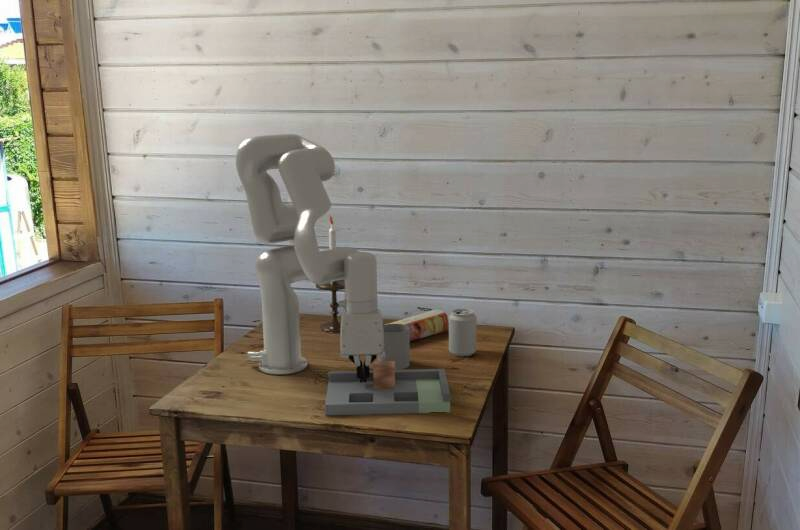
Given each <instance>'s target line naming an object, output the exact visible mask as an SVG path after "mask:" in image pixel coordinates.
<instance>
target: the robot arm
mask: <svg viewBox="0 0 800 530" xmlns="http://www.w3.org/2000/svg"><path fill="white" fill-rule="evenodd" d="M235 167H236V172H237V174H238V177H239V180H240V183H241V184H242V187H243V190H244V192H245V196H246V200H247V201H246V202H247V206H248V211H249V215H250V219H251V220H250V221H251V225H252V229H253V230H252V231H253V232H254V236H255V238H256V239H257V241H258V242H259V243H262V244H265V245H266V244H267V245H269V244H276V243H282V242H287V241H289V243H290V245H285V246H280V247H276V248H271V249H267V250H266V251H264V252H262V253H260V255H259V256H258V257H257V258H256V261H255V273H256V276H257V281H258V286H259V292H260V299H261V312H262V313H261V316H262V318H261V319H262V331H263V332H262V334H263V337H262V338H263V349H261V350H259V351H247V359H248V360H250V361H251V362H259V363H258V369H259V370H260V371H261V372H262V373H265V374H270V375H289V374H294V373H295V374H296V373H299V372H301V371H303V370H305V369H306V368H307V367H308V360H307V358H305V357H303V356H302V347H301V326H300V324H301V323H300V322H301V321H300V302H299V297H298V295H297V294H296V292H295V290H294V289H293V288H292V285H291V284H294V283H297V282H301V281H305V280H309V281H310V282H311V283H313V284H314V285H316V284H326V283H330V282H334V281H338V280H343V279H344V283H345V289H344V299H343V300H342V301H341V300H340V301H339V300H338V303H339V307H338V308H343V309H344V310H343V311H342V313H341V317H340V322H341V327H340V333H339V335H340V337H339V338H340V339H339V340H340V341H339V343H340V346H339V347H340V353H339V356H340V358H342V359H347V360H350V361H351V362H352V363H353V364H354V365H355V366H356V371H357V378H360V383H362V382H363V379H364V382H367V378H370V371H371V370H370V366H371V364H372V363H374V361H376V359H378V358H381V357H384V356H385V349H384V330H383V325H384V322H383V316H382V311H381V310H380V309H378V306H379V305H378V304H379V303H378V268H377V263H378V262H377V258H376V257H377V256H375V255H374V253H371V252H368V251H359V250H358V249H355V248H353V247H349V246H341V247H336V249H330V248H329V249H326V250H320V249H319V244H318V241H317V236H316V229H315V226H316V223H317V221H318V220H319V219H320V218H322V217H323V216H325V215H326V214H327V213H328V212H329V211H330V209H331V208H332V201H331V200H330V196H329V195H328V193H327V190H326V188H325V186H324V184H323V182H326V181H329V180H331V179H332V178H333V176H334V174H335V171H336V165H335V160H334V158H333V156H332V154H331V153H330V152H329V151H328V150H327V149H326V148H325V147H323V146H321V145H319V144H318V143H316V142H314V141H311V140H310V139H307V138H306V137H304V136H302V135H298V134H295V133H292V134H291V133H287V134H286V133H285V134H284V133H283V134H269V135H265V134H264V135H258V136H252V137H250V138H247V139H245V140H244V141H241V143H239V145H238V147H237V150H236V153H235ZM277 169H278V171H279V174H280V177H281V179H282V181H283V184H284V186H285V189H286V190H287V191H286V192H287V193H288V195H289V198H290V199H291V202H289V203H284V202H283V200H282V196H281V191H280V187H279V185H278V183H277V182H276V180H275V179H274V178H273V176H271V175H270V174H269V173H268V172H267V171H268V170H269V171H270V170H277ZM361 356H365V360H363V361H364V362H363V361H362V360H361Z"/></svg>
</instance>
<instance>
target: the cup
mask: <svg viewBox="0 0 800 530" xmlns="http://www.w3.org/2000/svg"><path fill="white" fill-rule="evenodd" d="M383 330H384V349H385V356H384V357H381V358H377V361H395V370H406V369H407V368H409V367H410V364H411V355H410V354H411V353H410V352H411V350H410V347H411V346H410V343H411V341H410V336H409V327H408V326H406V325H403V324H389V323H385V325H384V324H383Z"/></svg>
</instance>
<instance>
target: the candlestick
mask: <svg viewBox="0 0 800 530" xmlns="http://www.w3.org/2000/svg"><path fill="white" fill-rule="evenodd" d="M329 222H330V229H328V237H329V250H330V249H336V248H337V246H336V245H337V244H336V243H337V241H336V240H337V237H336V229H335V228H334V225H333V224H334V220H333V216H331V215H329ZM315 288H316V289H319V290H323V291H330V292H331V300H332V301H331V302H330V303H329V306H330V308H331V309H332V310H331V311H330V314H331V315H332V320H331V321H327V322H324V323H322V324H320V326H319V328H320V329H321V330H322V331H321V330H320V329H319V330H320V331H321V332H323V331H325V332H324V333H326V332H333V333H332V334H335V333H334V332H340V327H341V321H339V320H338V314H339V313H340V312H339V310H338V308H340V307H339V302H338V301H337V300H338V299H337V292H338V291H340V290H341V291H342V290H343V291H344V290H345V283H344V279H343V280H338V281H334V282H330V283H326V284H315Z"/></svg>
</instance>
